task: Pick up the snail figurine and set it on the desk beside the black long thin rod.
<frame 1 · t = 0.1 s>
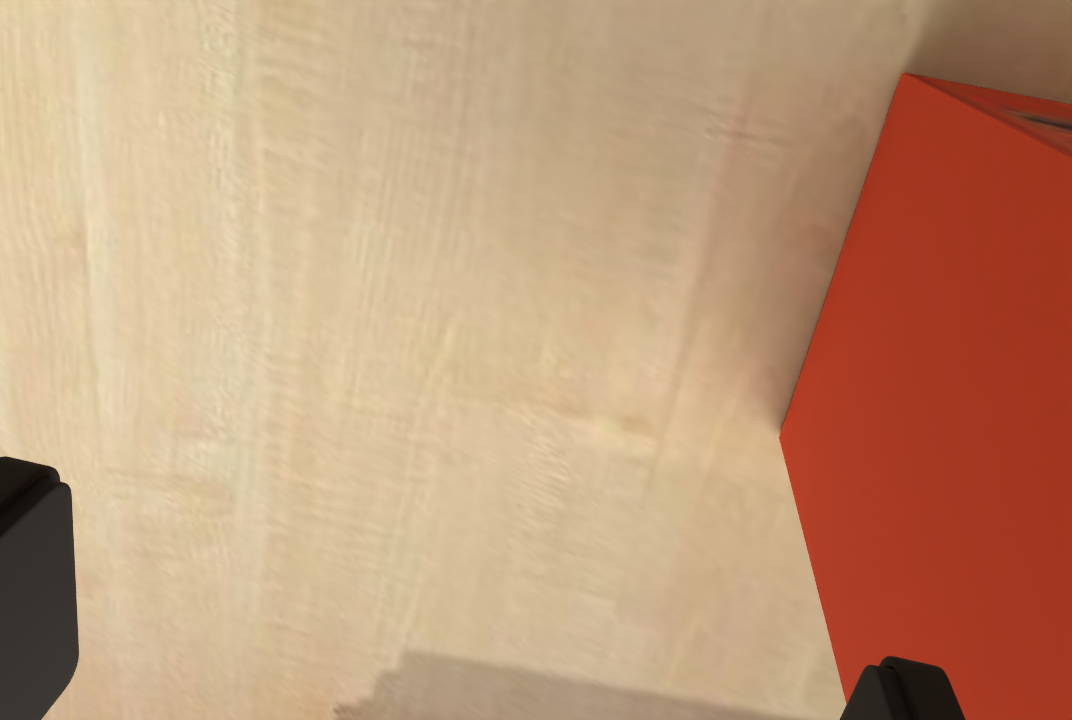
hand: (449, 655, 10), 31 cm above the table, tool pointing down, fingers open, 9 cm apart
file binder: (914, 285, 40), on the table
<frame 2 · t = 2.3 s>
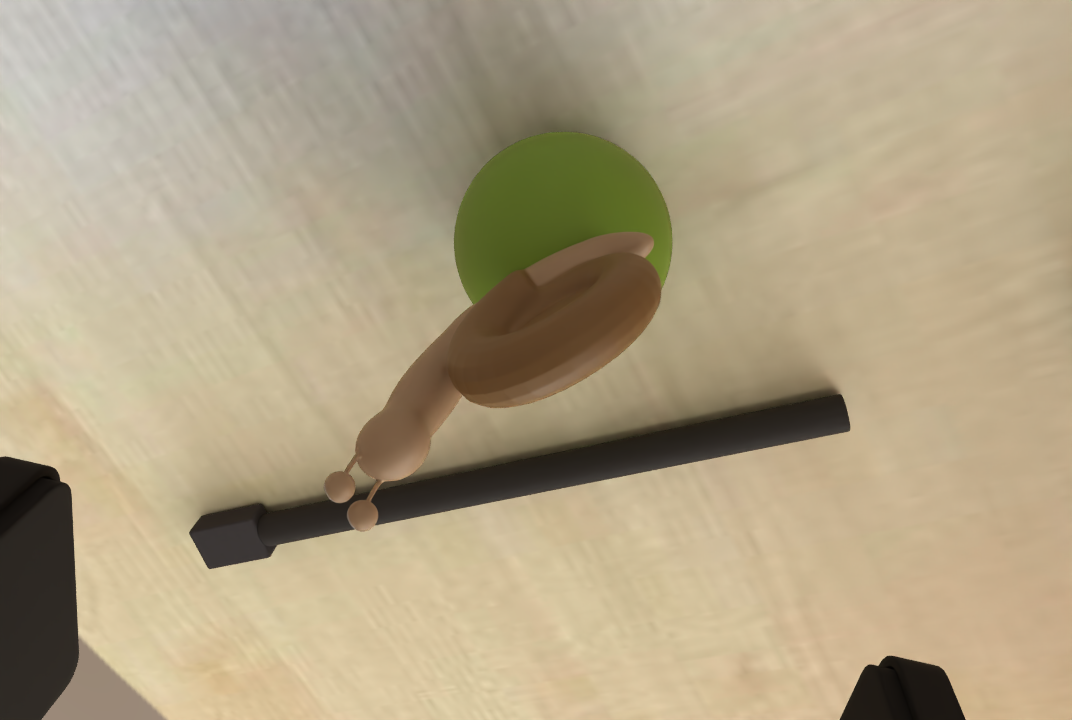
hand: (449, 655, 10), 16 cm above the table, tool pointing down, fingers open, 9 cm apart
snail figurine: (556, 220, 25), on the table
black long thin rod: (536, 466, 28), on the table
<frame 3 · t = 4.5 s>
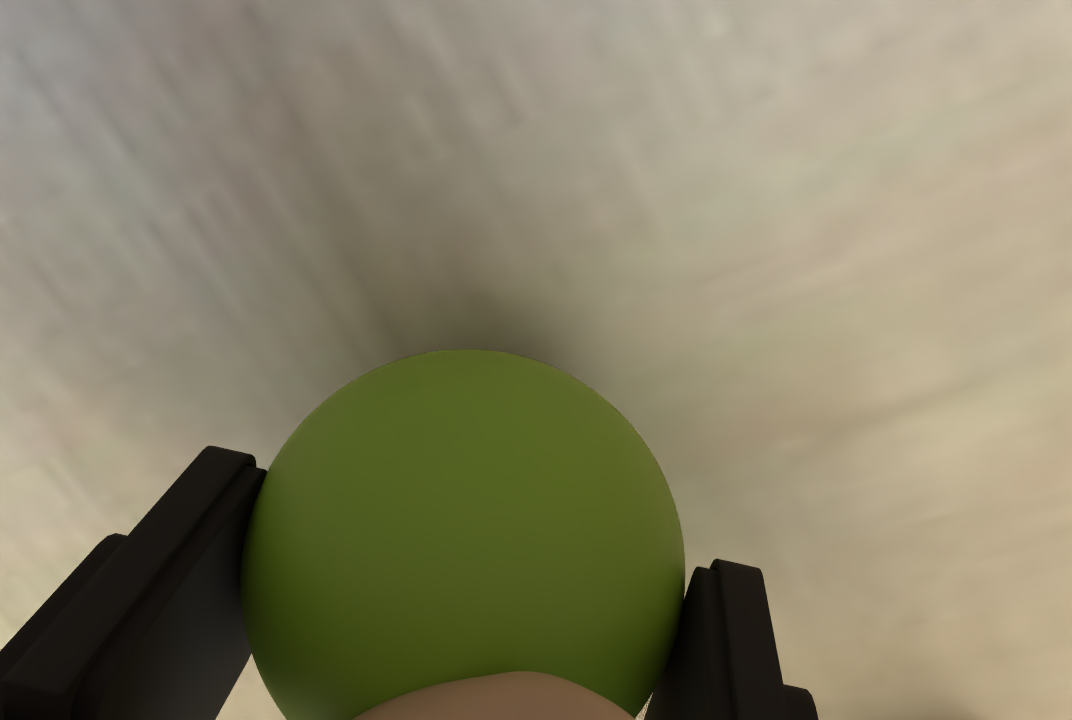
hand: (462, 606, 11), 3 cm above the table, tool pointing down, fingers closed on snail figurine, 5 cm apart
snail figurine: (474, 459, 14), on the table, touching gripper
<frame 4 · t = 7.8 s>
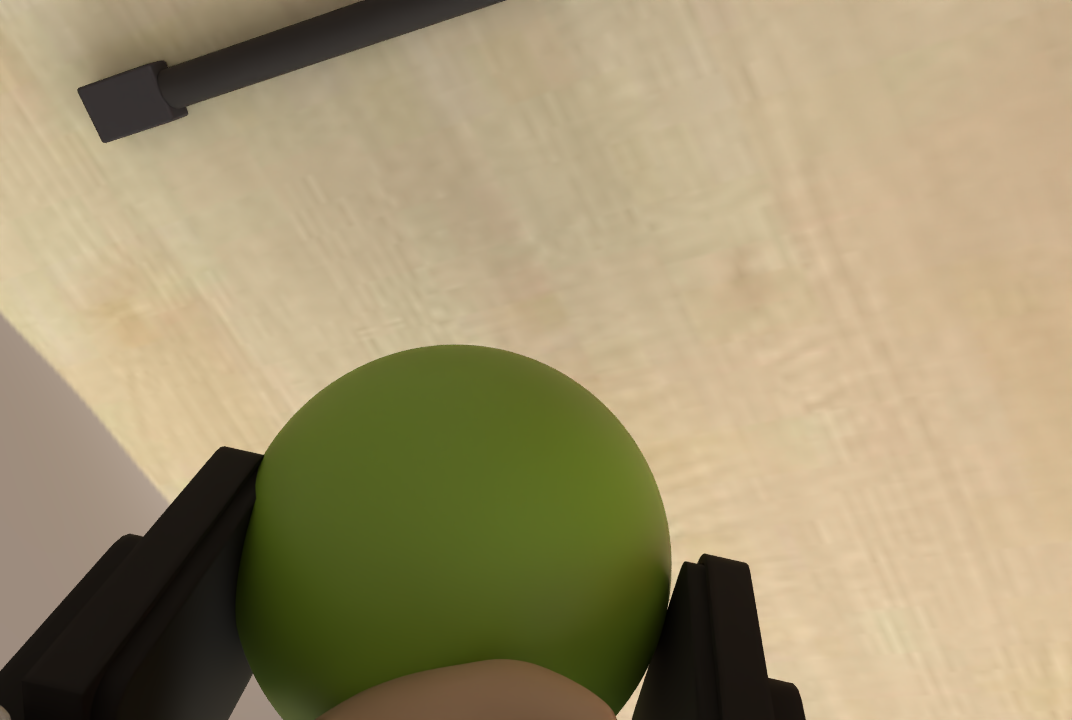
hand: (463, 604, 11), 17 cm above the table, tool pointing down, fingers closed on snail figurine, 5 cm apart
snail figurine: (468, 456, 14), point 13 cm above the table, touching gripper
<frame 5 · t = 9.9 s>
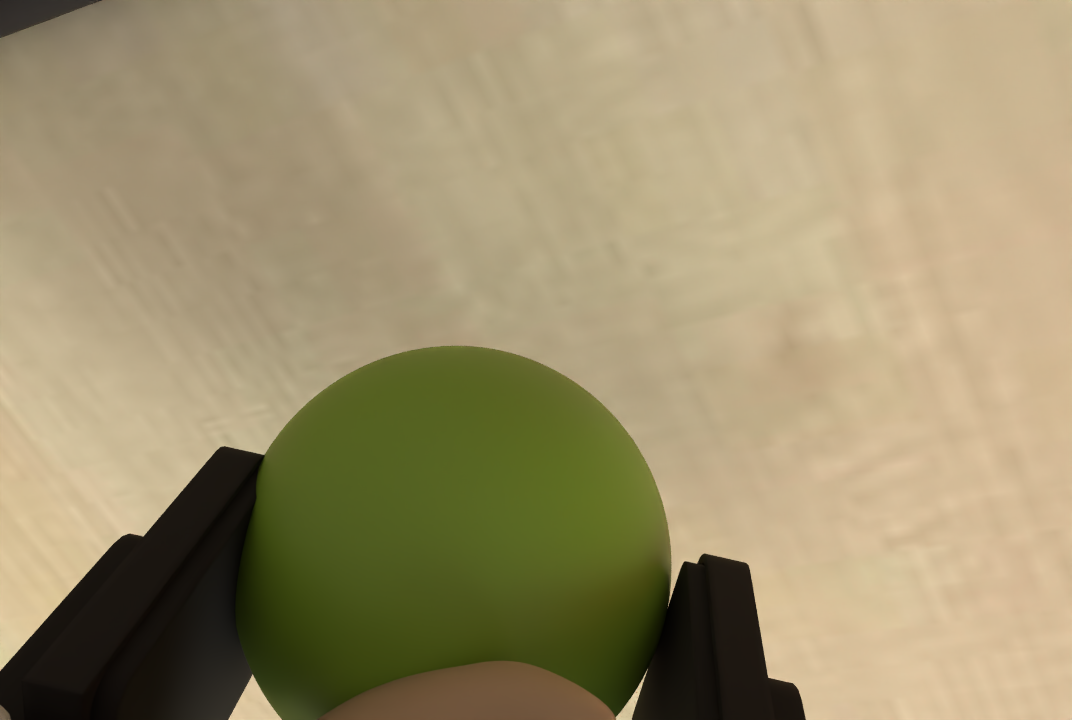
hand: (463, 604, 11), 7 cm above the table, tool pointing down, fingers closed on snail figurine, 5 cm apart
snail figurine: (468, 457, 14), point 4 cm above the table, touching gripper
when the fingers open (3 cm above the table, at t = 11.3 s): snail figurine stays where it is, on the table.
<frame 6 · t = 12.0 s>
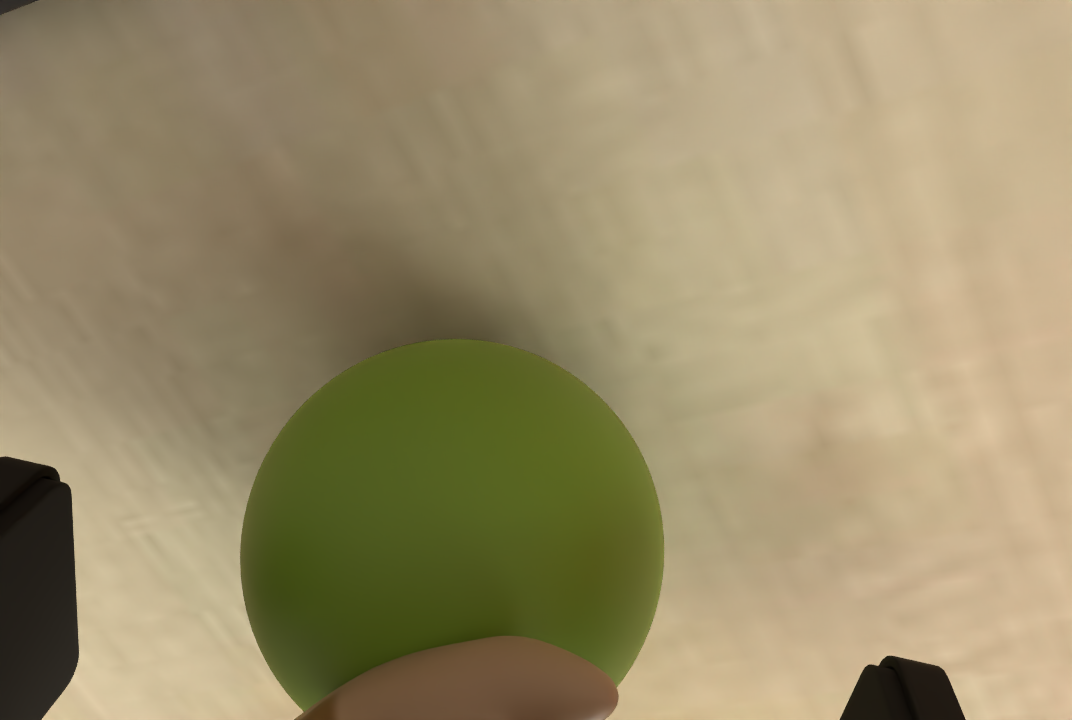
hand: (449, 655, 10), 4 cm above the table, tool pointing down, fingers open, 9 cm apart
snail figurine: (465, 448, 15), on the table
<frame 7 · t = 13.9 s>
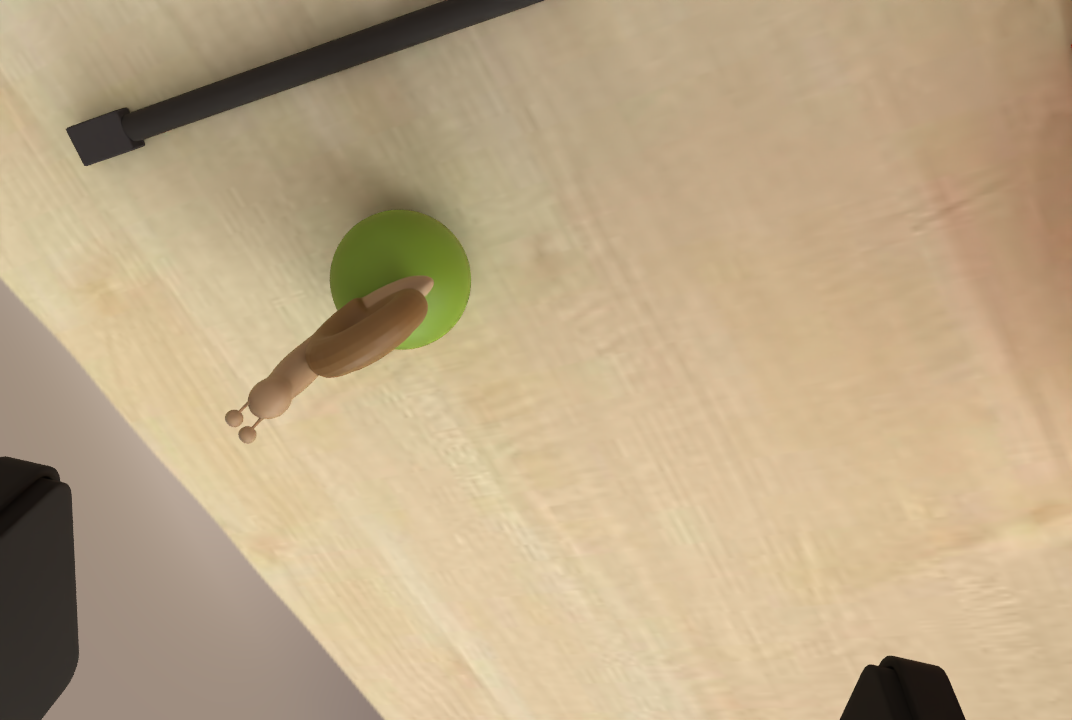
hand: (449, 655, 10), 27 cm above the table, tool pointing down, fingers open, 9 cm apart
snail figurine: (409, 263, 38), on the table
black long thin rod: (347, 52, 34), on the table
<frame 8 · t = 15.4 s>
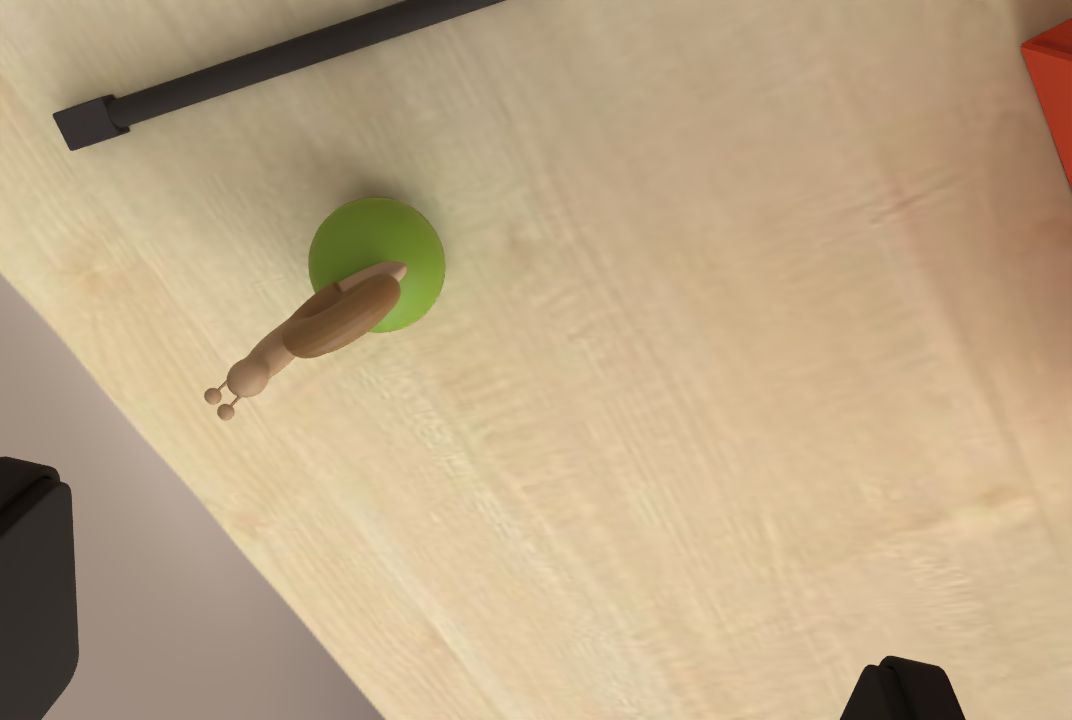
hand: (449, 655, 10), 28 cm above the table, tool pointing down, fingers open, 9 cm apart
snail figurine: (386, 249, 39), on the table
black long thin rod: (326, 43, 35), on the table
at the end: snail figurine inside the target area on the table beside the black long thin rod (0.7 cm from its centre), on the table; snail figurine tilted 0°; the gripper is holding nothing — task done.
